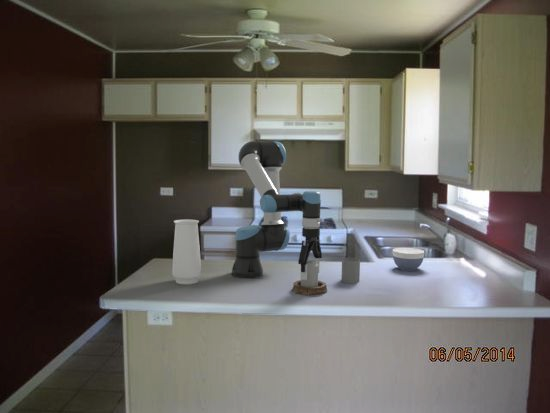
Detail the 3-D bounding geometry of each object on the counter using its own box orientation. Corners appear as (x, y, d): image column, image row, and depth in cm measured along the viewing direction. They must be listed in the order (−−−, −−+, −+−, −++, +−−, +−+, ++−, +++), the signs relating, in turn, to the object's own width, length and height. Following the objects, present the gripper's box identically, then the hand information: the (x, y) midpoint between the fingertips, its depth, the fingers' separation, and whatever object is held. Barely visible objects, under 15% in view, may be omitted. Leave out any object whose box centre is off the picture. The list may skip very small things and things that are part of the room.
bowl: (427, 267, 274) (428, 249, 273) (418, 273, 261) (418, 254, 260) (397, 263, 283) (398, 246, 282) (387, 269, 270) (388, 251, 269)
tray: (286, 292, 225) (286, 285, 225) (301, 284, 239) (301, 277, 238) (319, 297, 219) (319, 290, 218) (332, 288, 232) (332, 282, 232)
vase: (205, 283, 239) (205, 222, 235) (178, 286, 232) (177, 224, 229) (194, 276, 250) (194, 218, 246) (168, 280, 243) (167, 220, 240)
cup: (358, 283, 241) (359, 262, 240) (340, 282, 243) (341, 261, 242) (359, 279, 250) (360, 258, 249) (342, 278, 251) (342, 257, 250)
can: (299, 286, 232) (299, 259, 230) (316, 286, 232) (316, 259, 231) (302, 290, 224) (302, 263, 223) (319, 290, 225) (320, 263, 224)
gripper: (307, 232, 213) (306, 283, 215) (329, 224, 235) (328, 270, 237) (290, 230, 216) (289, 281, 219) (314, 223, 238) (313, 268, 241)
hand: (310, 275), depth 228 cm, fingers open, 13 cm apart
